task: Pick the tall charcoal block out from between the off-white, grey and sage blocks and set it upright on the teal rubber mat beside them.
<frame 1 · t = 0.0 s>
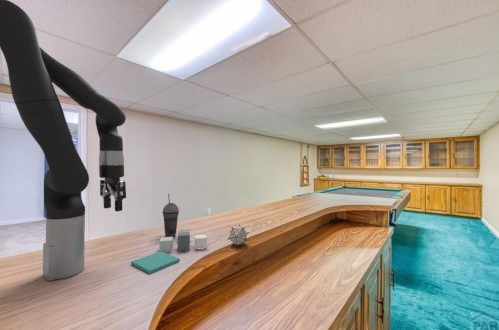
hand: (112, 209, 79), 17 cm above the worktop, tool pointing down, fingers open, 8 cm apart
sage block: (184, 240, 98), on the worktop
beverage cup: (170, 237, 103), on the worktop
offwhite block: (200, 247, 90), on the worktop
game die: (238, 245, 93), on the worktop
teal mat: (155, 262, 75), on the worktop
charcoal block: (183, 248, 88), on the worktop
grey block: (166, 250, 86), on the worktop
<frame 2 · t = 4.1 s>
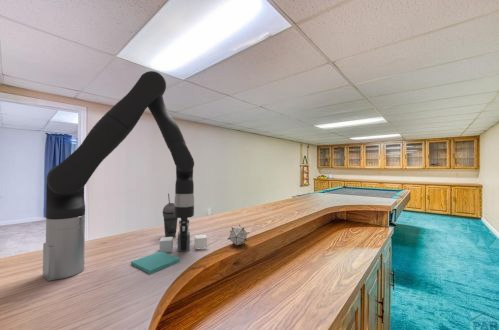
hand: (183, 247, 88), 1 cm above the worktop, tool pointing down, fingers closed on charcoal block, 4 cm apart
charcoal block: (183, 248, 88), on the worktop, touching gripper
everything else where it was.
when the fingers open (3 cm above the worktop, at t = 9.4 s): charcoal block drops 1 cm, resting on teal mat.
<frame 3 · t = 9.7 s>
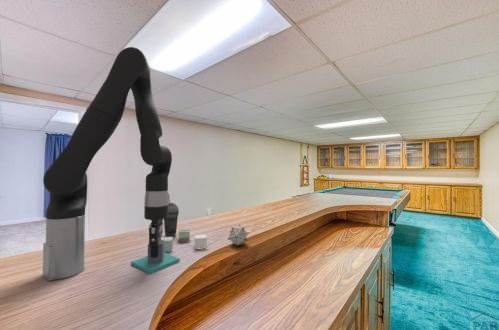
hand: (156, 252, 75), 3 cm above the worktop, tool pointing down, fingers open, 6 cm apart
charcoal block: (156, 260, 75), point 1 cm above the worktop, touching teal mat
everything else where it was.
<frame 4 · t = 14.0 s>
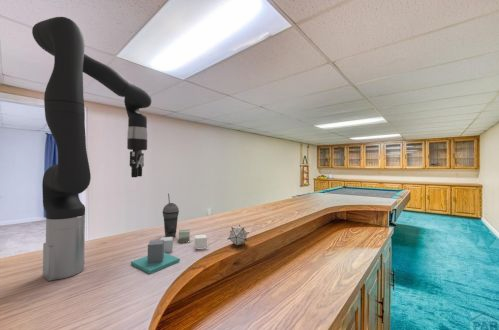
hand: (136, 176, 94), 28 cm above the worktop, tool pointing down, fingers open, 8 cm apart
nothing on the worktop moved.
at the end: charcoal block 0.0 cm off-centre on the teal mat, point 1.0 cm above the teal mat's base; charcoal block tilted 0°; offwhite block moved 0.1 cm from its start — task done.
